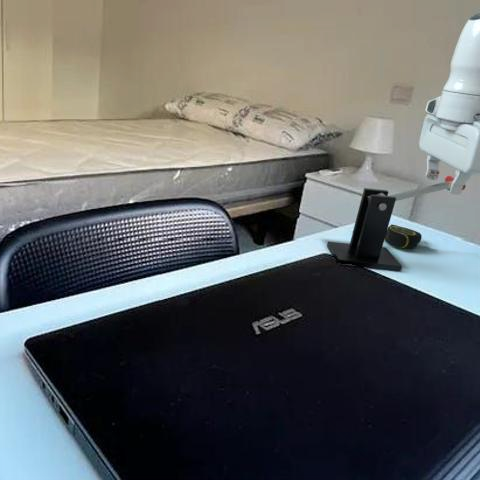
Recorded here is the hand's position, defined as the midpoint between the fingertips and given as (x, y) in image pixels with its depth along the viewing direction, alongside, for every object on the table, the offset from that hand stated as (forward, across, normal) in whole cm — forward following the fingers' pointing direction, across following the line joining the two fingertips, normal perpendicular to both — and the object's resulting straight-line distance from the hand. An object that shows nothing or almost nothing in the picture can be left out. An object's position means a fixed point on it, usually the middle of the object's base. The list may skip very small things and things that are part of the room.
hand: (441, 185), depth 93 cm
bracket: (+16, 0, +11) cm, 20 cm away
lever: (+3, 0, +4) cm, 5 cm away
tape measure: (+17, +10, 0) cm, 19 cm away
